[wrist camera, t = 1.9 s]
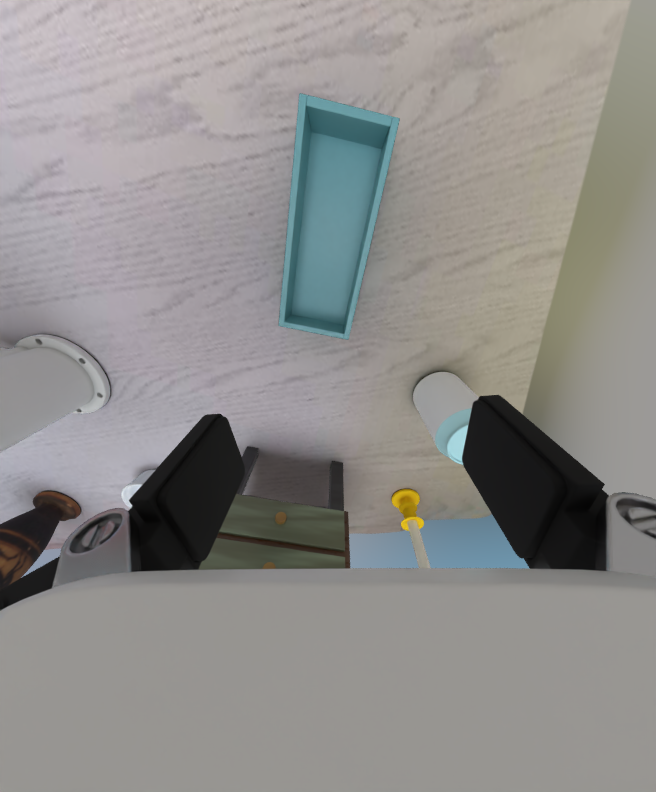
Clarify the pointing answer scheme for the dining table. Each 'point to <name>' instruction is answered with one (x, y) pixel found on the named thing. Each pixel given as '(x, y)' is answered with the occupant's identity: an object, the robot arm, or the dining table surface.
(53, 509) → the vase
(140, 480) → the ramekin
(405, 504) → the candle
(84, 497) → the dining table surface
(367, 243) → the storage box
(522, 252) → the dining table surface
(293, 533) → the drawer chest
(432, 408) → the can
